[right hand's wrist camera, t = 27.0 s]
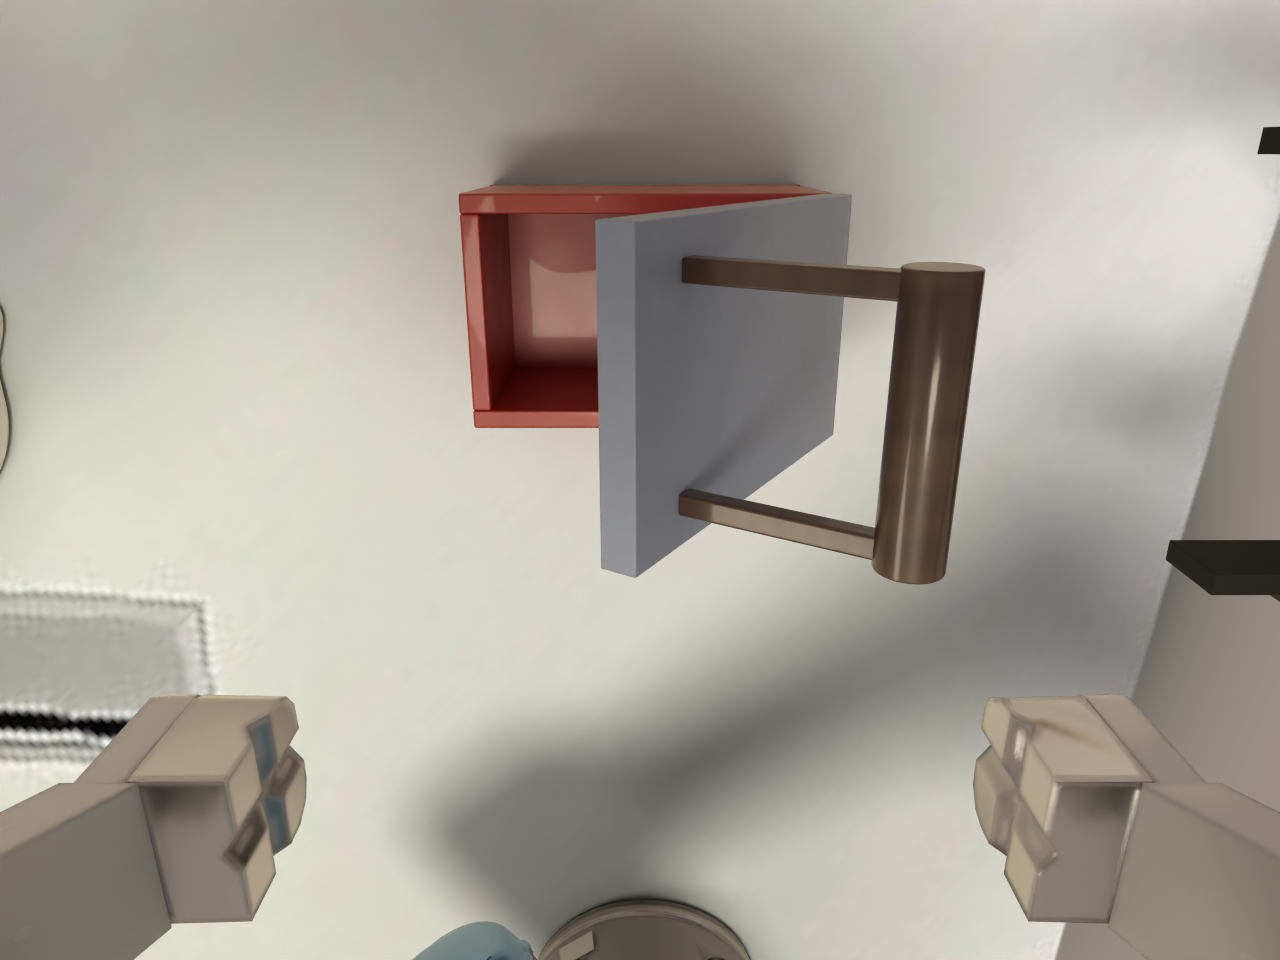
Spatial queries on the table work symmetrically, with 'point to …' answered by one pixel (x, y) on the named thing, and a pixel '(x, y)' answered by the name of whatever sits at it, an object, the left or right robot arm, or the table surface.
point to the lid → (768, 380)
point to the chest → (552, 290)
